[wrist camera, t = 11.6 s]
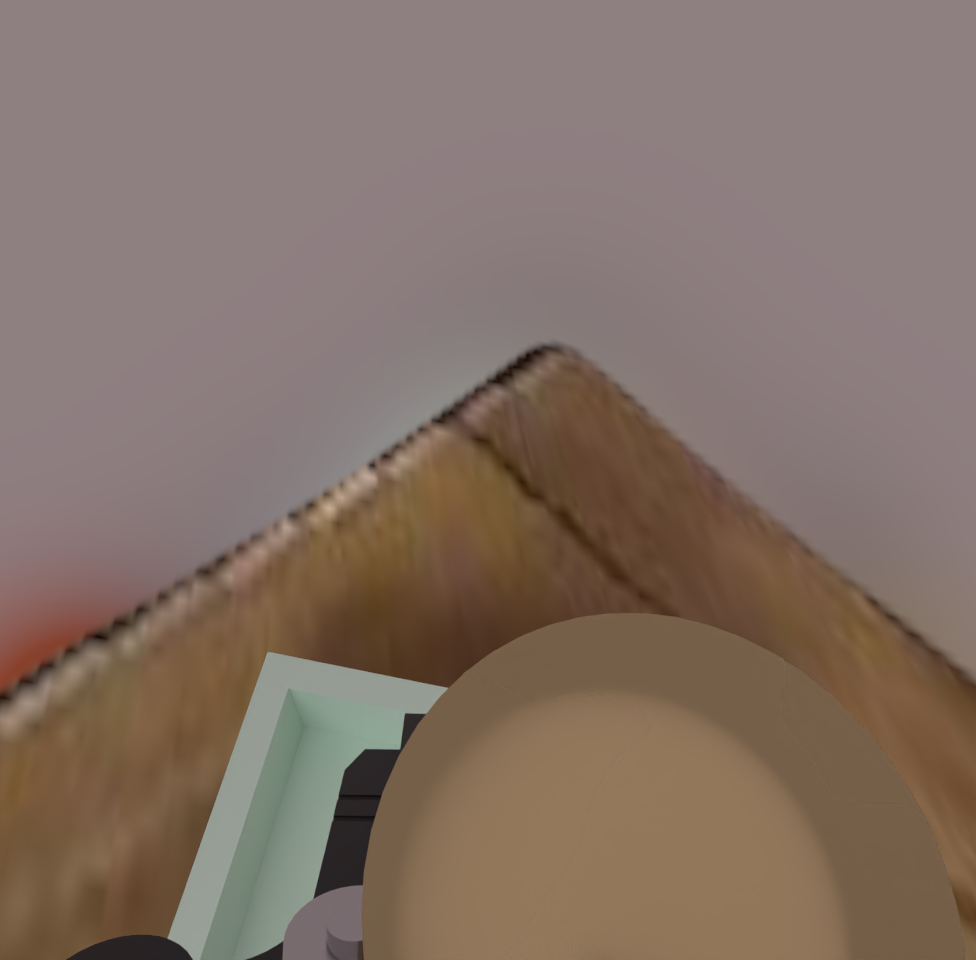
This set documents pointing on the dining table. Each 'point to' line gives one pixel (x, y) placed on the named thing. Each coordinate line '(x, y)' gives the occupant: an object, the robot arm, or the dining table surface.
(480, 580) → the dining table surface
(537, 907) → the pin
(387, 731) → the tray
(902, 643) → the dining table surface
